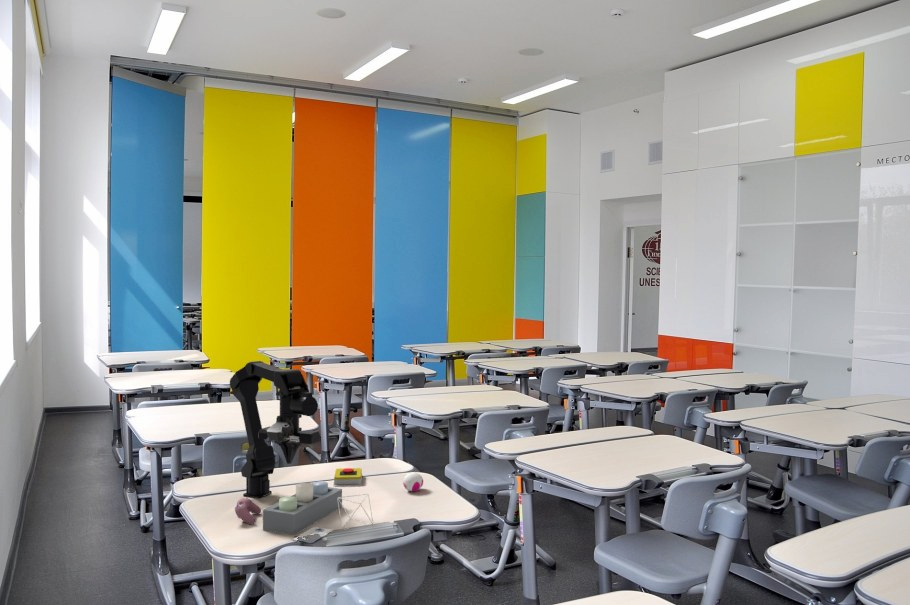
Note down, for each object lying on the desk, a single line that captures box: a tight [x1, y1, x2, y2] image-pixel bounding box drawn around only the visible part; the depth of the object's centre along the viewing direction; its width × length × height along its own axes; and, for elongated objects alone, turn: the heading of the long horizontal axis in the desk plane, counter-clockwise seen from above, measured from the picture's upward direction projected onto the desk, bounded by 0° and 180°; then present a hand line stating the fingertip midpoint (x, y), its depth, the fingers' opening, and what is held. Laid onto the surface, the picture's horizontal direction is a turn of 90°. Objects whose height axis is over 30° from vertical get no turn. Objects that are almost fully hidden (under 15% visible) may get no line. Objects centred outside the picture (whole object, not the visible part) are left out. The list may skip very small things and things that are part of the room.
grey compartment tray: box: [262, 486, 343, 536], centre depth 198 cm, size 10×25×6 cm, turn 159°
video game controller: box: [234, 496, 262, 525], centre depth 197 cm, size 10×5×7 cm, turn 5°
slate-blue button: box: [311, 480, 329, 495], centre depth 205 cm, size 5×5×5 cm
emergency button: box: [333, 467, 363, 488], centre depth 237 cm, size 9×4×15 cm
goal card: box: [292, 526, 334, 542], centre depth 184 cm, size 6×10×1 cm, turn 159°
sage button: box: [278, 495, 297, 512], centre depth 190 cm, size 5×5×5 cm
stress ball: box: [402, 471, 424, 493], centre depth 225 cm, size 8×8×7 cm
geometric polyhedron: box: [337, 493, 374, 530], centre depth 193 cm, size 10×9×8 cm
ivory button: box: [295, 482, 313, 503], centre depth 198 cm, size 5×5×5 cm
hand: (289, 463), depth 208 cm, fingers closed
